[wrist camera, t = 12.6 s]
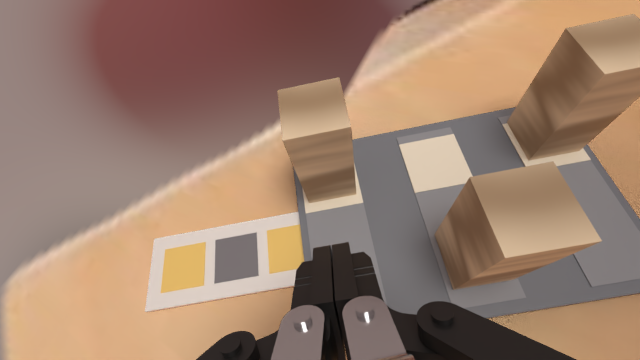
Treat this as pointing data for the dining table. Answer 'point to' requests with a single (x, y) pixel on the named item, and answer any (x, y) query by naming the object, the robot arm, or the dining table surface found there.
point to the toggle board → (436, 200)
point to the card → (225, 262)
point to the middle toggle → (511, 226)
